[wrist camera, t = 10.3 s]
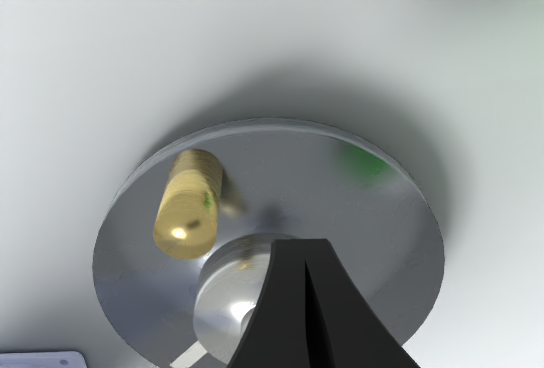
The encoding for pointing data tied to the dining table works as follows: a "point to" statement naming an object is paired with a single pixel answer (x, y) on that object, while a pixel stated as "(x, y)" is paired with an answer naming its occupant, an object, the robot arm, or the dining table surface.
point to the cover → (231, 291)
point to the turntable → (261, 227)
